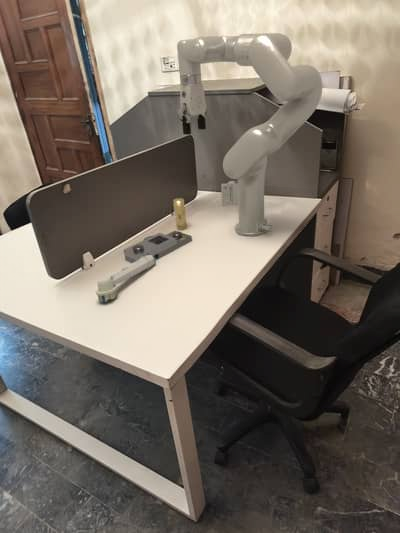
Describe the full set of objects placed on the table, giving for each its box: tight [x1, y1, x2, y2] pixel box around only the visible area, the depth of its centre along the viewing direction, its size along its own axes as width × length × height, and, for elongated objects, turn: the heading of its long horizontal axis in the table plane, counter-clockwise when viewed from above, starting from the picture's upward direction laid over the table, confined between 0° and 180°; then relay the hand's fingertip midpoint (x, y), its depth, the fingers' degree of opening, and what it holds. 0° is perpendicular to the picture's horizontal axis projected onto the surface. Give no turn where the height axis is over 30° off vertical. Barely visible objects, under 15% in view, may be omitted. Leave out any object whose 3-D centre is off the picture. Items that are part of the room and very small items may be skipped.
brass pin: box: [173, 197, 188, 231], centre depth 144 cm, size 4×4×12 cm
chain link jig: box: [123, 230, 193, 264], centre depth 130 cm, size 24×9×5 cm, turn 137°
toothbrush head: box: [95, 255, 157, 302], centre depth 113 cm, size 5×7×25 cm
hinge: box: [220, 180, 238, 207], centre depth 163 cm, size 14×5×10 cm, turn 77°
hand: (194, 131), depth 137 cm, fingers open, 9 cm apart
